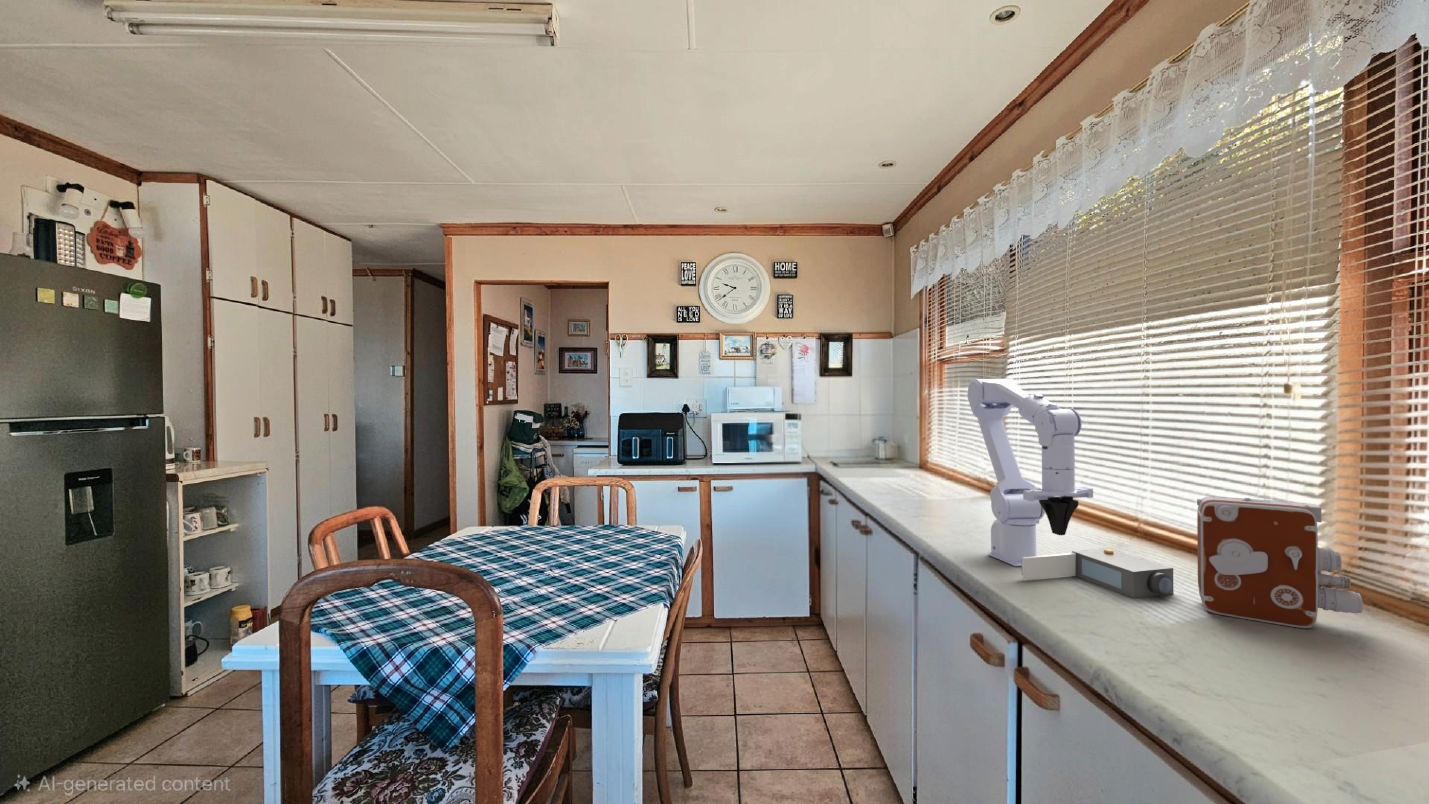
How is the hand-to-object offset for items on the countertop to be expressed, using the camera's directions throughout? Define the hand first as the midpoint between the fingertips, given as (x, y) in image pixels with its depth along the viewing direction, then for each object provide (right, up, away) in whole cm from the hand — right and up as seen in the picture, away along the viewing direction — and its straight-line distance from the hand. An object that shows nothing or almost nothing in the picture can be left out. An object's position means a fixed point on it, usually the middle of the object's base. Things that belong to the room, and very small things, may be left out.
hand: (1058, 534), depth 113 cm
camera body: (+11, -10, -2) cm, 15 cm away
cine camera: (+24, -10, -20) cm, 33 cm away
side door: (-1, -9, +2) cm, 10 cm away
